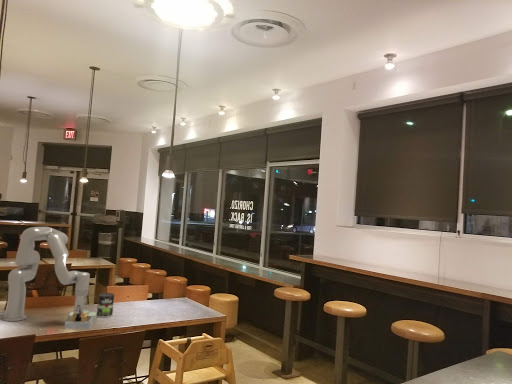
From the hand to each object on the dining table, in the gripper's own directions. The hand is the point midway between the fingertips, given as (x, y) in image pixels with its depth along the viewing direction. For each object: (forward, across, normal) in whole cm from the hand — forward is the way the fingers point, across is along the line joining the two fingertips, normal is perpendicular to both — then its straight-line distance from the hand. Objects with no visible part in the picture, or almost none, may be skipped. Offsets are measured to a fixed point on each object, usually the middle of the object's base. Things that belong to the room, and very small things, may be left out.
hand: (78, 322), depth 247 cm
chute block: (+1, 0, 0) cm, 1 cm away
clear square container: (+2, 0, 0) cm, 2 cm away
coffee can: (+2, -23, +12) cm, 26 cm away
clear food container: (+2, -12, 0) cm, 12 cm away
